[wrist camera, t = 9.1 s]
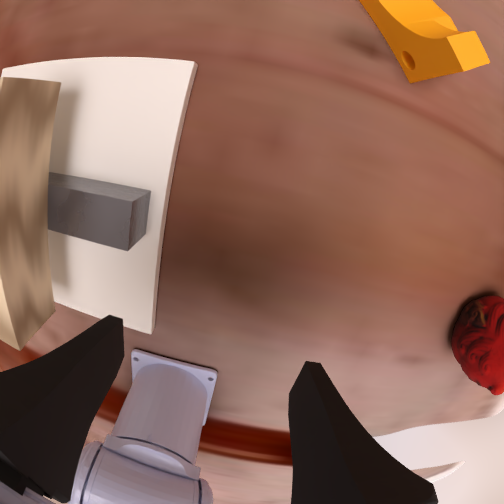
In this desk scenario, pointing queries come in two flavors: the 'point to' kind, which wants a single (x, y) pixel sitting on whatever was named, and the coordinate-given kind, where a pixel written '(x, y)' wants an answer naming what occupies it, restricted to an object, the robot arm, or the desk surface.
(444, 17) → the pipe clamp
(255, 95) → the desk surface
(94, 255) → the stand
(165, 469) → the robot arm
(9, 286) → the oak bar
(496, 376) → the red clay folk toy
